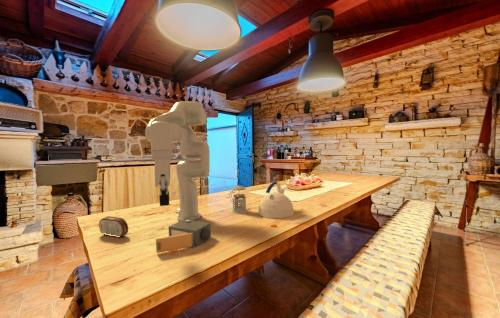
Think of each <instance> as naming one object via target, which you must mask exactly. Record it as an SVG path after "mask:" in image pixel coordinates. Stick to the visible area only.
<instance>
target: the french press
mask: <svg viewBox="0 0 500 318" xmlns="http://www.w3.org/2000/svg"><path fill="white" fill-rule="evenodd" d="M236 172H237V174H238V175H237V176H238V178H240V174H239V172H241V170H240V169H237V170H236ZM246 189H247V188H246V187H245V186H242V185H237V186H234V187H232V190H231V191H230V192H229V196H228V197H229V200H230V202H231V203H232V210H231V213H232V214H236V215H242V214H246V213H248V212H249V209H247V198H246V195H245V194H244V193H237V194H233V193H235V192H236V191H238V192H240V191H245V190H246ZM232 195H233V196H232Z"/></svg>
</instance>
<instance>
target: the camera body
mask: <svg viewBox="0 0 500 318" xmlns="http://www.w3.org/2000/svg"><path fill="white" fill-rule="evenodd" d="M211 231H212V230H211V222H208V221H206V222H205V221H200V220H186V219H184V220H182V221H177V222H176V223H173V224H171V225H169V226H168V237H169V236H175V235H181V234H187V233H193V247H198V246H199V245H200V244H202V243H204V242H205V241H207V240H208V239H210V238H211V237H212V233H211Z"/></svg>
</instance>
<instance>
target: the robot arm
mask: <svg viewBox="0 0 500 318" xmlns="http://www.w3.org/2000/svg"><path fill="white" fill-rule="evenodd" d="M207 119H208V117H207V113H206V111H205V109H204V106H203V105H202V104H201V103H200V102H199V101H196V100H195V101H194V100H187V101H183V100H181V101H178V102H175V103H174V105H173V106H172V108H171V109H170V110H169V111H168V112H165V113H163V114H161V115H158V116H156V117H154V118H152V119H151V120H150V121H149V122H148V123H147V126H146V127H145V133H144V134H145V138H146V140H147V141H148V142H150V157H151V158H150V159H151V161H154V165H153V166H154V186H155V187H156V188H158V186H159V206H160V207H164V206H169V205H170V191H169V186H170V182H171V160H174V147H173V146H174V145H173V143H178V142H180V148H179V149H180V151H179V152H180V154H179V155H180V157H181V158H183V159H184V160H181V161H178V163H176V167H175V171H176V175H177V180H178V181H177V182H178V192H179V195H178V196H179V199H178V200H179V208H177V209H176V211H175V214H178V216H177V221H178V222H180V221H182V220H184V219H186V220H193V221H198V220H199V219H201V218H202V214H201V213H200V212H199V204H198V203H199V202H198V201H199V199H198V185H197V183H196V182H195V180H194V179H195V178H196V179H197V178H200V179H201V178H206V177H208V176H209V175H210V162H211V161H210V157H211V156H210V155H211V154H210V153H211V152H210V146H209V143H208V142H206V141H197V133H196V131H195V130H194V129H193V128H192V127H190V126H203V125H205V124H206V123H207Z"/></svg>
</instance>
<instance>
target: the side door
mask: <svg viewBox="0 0 500 318" xmlns="http://www.w3.org/2000/svg"><path fill="white" fill-rule="evenodd" d="M191 247H192V248H193V247H194V246H193V233H187V234H181V235H175V236H169V235H168V236H163V237H158V238H155V249H156V254H159V253H166V252H170V251H176V250H181V249H186V248H187V249H188V248H191Z"/></svg>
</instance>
